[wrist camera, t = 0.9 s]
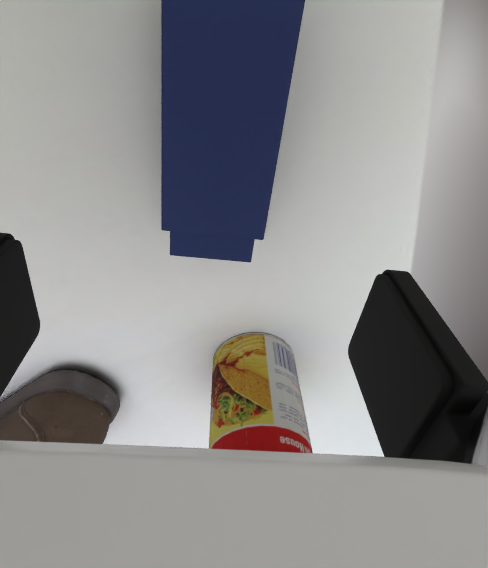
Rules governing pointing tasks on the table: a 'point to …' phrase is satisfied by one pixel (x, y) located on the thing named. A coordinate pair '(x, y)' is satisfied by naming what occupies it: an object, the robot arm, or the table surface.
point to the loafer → (60, 410)
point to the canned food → (257, 397)
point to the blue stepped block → (223, 119)
